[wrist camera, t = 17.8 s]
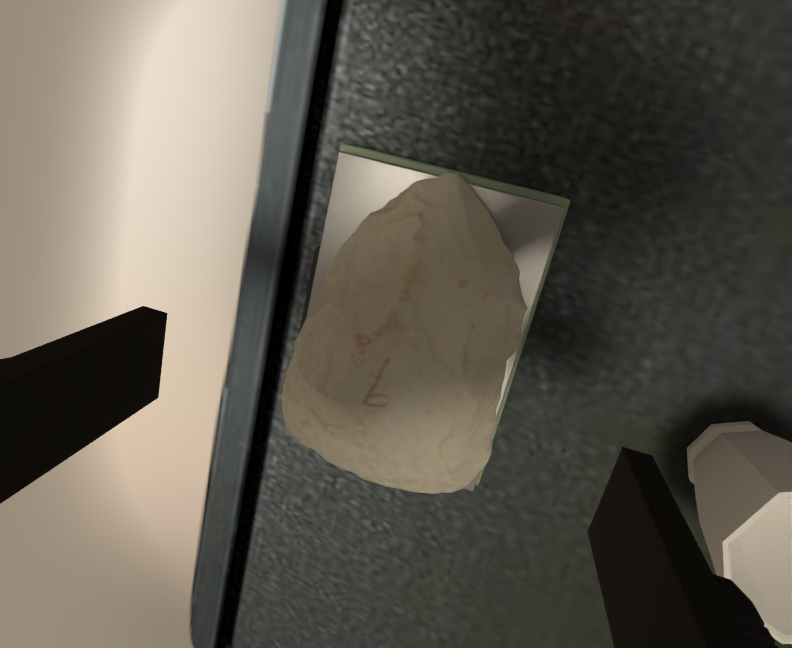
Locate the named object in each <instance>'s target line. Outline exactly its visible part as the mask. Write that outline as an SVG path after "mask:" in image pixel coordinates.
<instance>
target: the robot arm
mask: <svg viewBox="0 0 792 648" xmlns="http://www.w3.org/2000/svg"><path fill="white" fill-rule="evenodd" d="M166 320H167V313H165V312H161V311H158V310H155V309H151V308H148V307H145V306H142V307H139V308H137V309H134V310H132V311H129V312H127V313H124V314H121V315H119V316H116V317H114V318H112V319H109V320H106V321H104V322H101V323H98V324H96V325H93V326H91V327H88V328H85V329H83V330H80V331H78V332H75V333H73V334H70V335H68V336H65V337H62V338H60V339H57V340H55V341H52V342H50V343H47V344H44V345H42V346H39V347H37V348H34V349H32V350H29V351H26V352H24V353H21V354H19V355H16V356H14V357H10V358H4V359H0V503H2V502H3V501H5V500H6V499H8V498H9V497H11V496H12V495H14V494H15V493H17V492H18V491H20V490H21V489H23V488H24V487H26V486H27V485H29V484H30V483H32V482H33V481H35V480H36V479H38V478H39V477H41V476H42V475H44V474H45V473H47V472H48V471H50V470H51V469H53V468H54V467H55V466H57V465H59V464H60V463H61V462H63V461H64V460H66V459H67V458H69V457H70V456H72V455H73V454H75V453H76V452H78V451H79V450H81V449H82V448H84V447H85V446H87V445H88V444H90V443H91V442H93V441H94V440H96V439H97V438H99V437H100V436H102V435H103V434H105V433H106V432H108V431H109V430H111V429H112V428H114V427H115V426H117V425H118V424H119V423H121V422H122V421H124V420H126V419H127V418H129V417H130V416H132V415H133V414H135V413H136V412H137V411H139V410H140V409H142V408H143V407H145V406H146V405H148V404H149V403H151V402H152V401H154V400H155V399H157V398H158V395H159V386H160V376H161V367H162V357H163V347H164V339H165V330H166ZM588 535H589V539H590V544H591V548H592V552H593V557H594V561H595V565H596V570H597V574H598V578H599V583H600V587H601V591H602V596H603V600H604V604H605V609H606V613H607V617H608V622H609V626H610V630H611V635H612V639H613V643H614V648H778V646H776V645H774V643H775V641H774V639H773V637H772V636H771V634H770V632H769V630H768V629H767V628H766V627H764V624H765V623H764V622H763V620H762V618H761V616H760V615H759V613H758V611H757V609H756V608H755V606H754V604H753V602H752V601H751V600H750V599H749V598H748V597H747V596H746V595H745V594H744V593H743V592H742V591H741V589H740V588H739V587H738V586H737V585H736V584H735V583H734V582H733V581H732V580H730V579H727V578H724V577H721V576H717V575H714V574H713V573H712V572H711V570H710V568H709V566H708V564H707V562H706V560H705V558H704V556H703V554H702V552H701V550H700V548H699V546H698V544H697V542H696V540H695V538H694V536H693V535H692V533H691V531H690V529H689V527H688V525H687V523H686V521H685V519H684V517H683V515H682V513H681V511H680V509H679V507H678V505H677V503H676V501H675V500H674V498H673V496H672V494H671V492H670V490H669V488H668V486H667V484H666V482H665V480H664V478H663V476H662V474H661V472H660V470H659V468H658V466H657V464H656V463H655V461H654V459H653V457H652V455H648V454H645V453H641V452H638V451H635V450H631V449H628V448H624V447H622V450H621V452H620V455H619V457H618V459H617V462H616V464H615V467H614V469H613V472H612V474H611V476H610V479H609V481H608V484H607V486H606V489H605V491H604V493H603V496H602V498H601V501H600V503H599V506H598V508H597V510H596V513H595V515H594V518H593V520H592V523H591V525H590V528H589V530H588Z"/></svg>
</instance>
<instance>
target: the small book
mask: <svg viewBox="0 0 792 648" xmlns="http://www.w3.org/2000/svg"><path fill="white" fill-rule="evenodd" d="M444 173H455V174H456V173H458V175H459V176H460V177H461V178H462V179H463V180H464V182H465V183H466V184H467V185H468V186H469V187H470V188H471V189H472V190H473V191H474V192H475V194H476V196H477V197H478V199H479V200H480V201H481V202H482V204H483V205H484V206H485V207H486V208H487V209H488V211H489V212H490V217H491V218H492V219H493V220H494V222H495V223H496V225H497V228H498V230H499V231H500V234H501V237H502V241H503V243H504V244H505V245H506V247H507V248H508V249H509V251H510V252H511V254H512V256H513V258H514V261H515V263H516V264H517V265H518V267H519V271H520V277H519V283H520V287H521V292H522V295H523V299H524V302H525V304H526V306H527V312H526V314H525V316H524V320H523V323H522V325H521V337H520V341H519V344H518V347H517V348H516V349H515V352H514V354H513V355H512V356H511V357H510V358H509V359H507V362H506V365H507V366H506V370H505V378H504V381H503V383H502V390H501V400H500V401H499V403H498V406H497V408H496V426H495V429H494V431H493V434H492V436H491V442H493V439H494V436H495V433H496V430H497V427H498V423H499V420H500V417H501V414H502V411H503V408H504V405H505V402H506V399H507V396H508V393H509V389H510V386H511V383H512V380H513V377H514V374H515V371H516V368H517V365H518V362H519V359H520V356H521V352H522V349H523V346H524V343H525V340H526V337H527V334H528V331H529V328H530V325H531V322H532V318H533V315H534V312H535V309H536V306H537V303H538V300H539V297H540V294H541V291H542V288H543V285H544V281H545V278H546V275H547V272H548V269H549V266H550V263H551V260H552V257H553V254H554V251H555V248H556V244H557V241H558V238H559V235H560V232H561V229H562V226H563V223H564V220H565V217H566V214H567V210H568V207H569V204H570V200H569V199H567V198H564V197H561V196H557V195H553V194H549V193H545V192H541V191H537V190H533V189H529V188H525V187H521V186H517V185H513V184H509V183H505V182H501V181H497V180H493V179H489V178H485V177H481V176H477V175H473V174H469V173H465V172H461V171H456V170H452V169H448V168H444V167H440V166H436V165H432V164H428V163H424V162H420V161H416V160H412V159H408V158H404V157H400V156H396V155H392V154H388V153H384V152H380V151H376V150H372V149H368V148H364V147H360V146H355V145H349V144H343V143H341V145H340V150H339V152H338V157H337V162H336V167H335V173H334V178H333V183H332V188H331V193H330V198H329V204H328V209H327V214H326V219H325V224H324V229H323V235H322V240H321V245H320V246H318V247H316V249H315V254H314V259H313V264H312V269H311V275H310V280H309V285H308V290H307V296H306V301H305V306H304V311H303V317H302V322H301V327H300V331H301V329H302V327H303V324H304V321H305V320H306V319H307V317H308V316H309V314H310V313H311V312H312V309H313V307H314V304H315V302H316V299H317V297H318V295H319V293H320V291H321V289H322V287H323V282H324V279H325V277H326V274H327V272H328V269H329V266H330V265H331V263H332V262H333V259H334V258H335V256H336V254H337V252H338V251H339V250H340V248H341V247H342V245H343V244H344V243H345V241H346V240H348V239H349V238H350V237H351V235H352V234H353V233H354V232H356V230H357V229H358V227H359V225H360V223H361V222H362V221H363V220H364V219H365V218H366V217H367V216H368V215H369V214H370V213H371V212H375V211H377V210H380V209H381V208H383V207H384V206H385V205H386V204H387V203H388V202H389V201H390V200H391V199H393V198H396V197H397V196H398V195H399V194H400V192H403V191H404V190H405V189H407V188H408V187H409V186H410V185H411V184H413V183H414V182H416V181H420V180H424V179H432V178H437V177H439V176H441V175H442V174H444ZM284 434H285V435H288V436H291V437H294V438H296V437H295V436H294V435H293V434H292V433H291V432H290V430H289V428H288V425H287V423H286V426H285V431H284ZM484 467H485V466H484ZM484 467H483V468H482V469H481V470H480V471H479V473H478V474H477V475H476V476H475V477H474V478H473V479H472V481H471V482H470V483H469V484H468V485H467V486H465V487H464V488H462V489H466V490H469V491H472V492H473V491H474V488H475V485H478V484H479V482H480V479H481V476H482V473H483V470H484Z"/></svg>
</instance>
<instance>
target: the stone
mask: <svg viewBox="0 0 792 648" xmlns="http://www.w3.org/2000/svg"><path fill="white" fill-rule="evenodd" d="M519 277H520V271H519V267H518V265H517V264H516V263H515V261H514V258H513V256H512V254H511V252H510V251H509V249H508V248H507V247H506V245H505V244H504V243H503V241H502V237H501V234H500V231H499V230H498V228H497V225H496V223H495V222H494V220H493V219H492V218H491V217H490V212H489V211H488V209H487V208H486V207H485V206H484V205H483V204H482V202H481V201H480V200H479V199H478V197H477V196H476V194H475V192H474V191H473V190H472V189H471V188H470V187H469V186H468V185H467V184H466V183H465V182H464V180H463V179H462V178H461V177H460V176H459V175H458V173H456V174H455V173H444V174H442V175H441V176H439V177H437V178H432V179H424V180H420V181H416V182H414V183H413V184H411V185H410V186H409V187H408V188H407V189H405V190H404V191H403V192H400V194H399V195H398V196H397V197H396V198H393V199H391V200H390V201H389V202H388V203H387V204H386V205H385V206H384V207H383V208H381V209H380V210H377V211H375V212H371V213H370V214H369V215H368V216H367V217H366V218H365V219H364V220H363V221H362V222H361V223H360V225H359V227H358V229H357V230H356V232H354V233H353V234H352V235H351V237H350V238H349V239H348V240H346V241H345V243H344V244H343V245H342V247H341V248H340V250H339V251H338V252H337V254H336V256H335V258H334V259H333V262H332V263H331V265H330V266H329V269H328V272H327V274H326V277H325V279H324V282H323V287H322V289H321V291H320V293H319V295H318V297H317V299H316V302H315V304H314V307H313V309H312V312H311V313H310V314H309V316H308V317H307V319H306V320H305V321H304V324H303V327H302V329H301V331H300V333H299V335H298V337H297V339H296V340H295V343H294V347H295V352H293V357H292V359H291V362H290V364H289V368H288V370H287V373H286V378H285V382H284V387H283V391H282V407H283V415H284V419H285V422H286V423H287V425H288V428H289V430H290V432H291V433H292V434H293V435H294V436H295V437H296V438H297V439H298V440H299V441H300V442H301V443H302V444H303V445H304V446H306V447H309V448H312V449H314V450H315V451H317V452H318V453H319V454H320V455H321V456H322V457H323V458H324V459H325V460H327V461H328V462H330V463H332V464H334V465H336V466H337V467H339V468H341V469H343V470H348V471H351V472H354V473H355V474H356V475H358V476H359V477H360V478H362V479H365V480H368V481H372V482H375V483H378V484H381V485H383V486H387V487H394V488H400V489H403V490H407V491H411V492H421V493H431V494H437V493H440V492H445V493H451V492H455V491H458V490H460V489H462V488H464V487H465V486H467V485H468V484H469V483H470V482H471V481H472V479H473V478H474V477H475V476H476V475H477V474H478V473H479V471H480V470H481V469H482V468H483V467H484V466H485V465H486V463H487V462H488V460H489V458H490V456H491V451H492V442H491V436H492V434H493V431H494V429H495V426H496V408H497V406H498V403H499V401H500V400H501V390H502V383H503V381H504V378H505V370H506V366H507V365H506V362H507V359H509V358H510V357H511V356H512V355H513V354H514V352H515V349H516V348H517V347H518V344H519V341H520V337H521V325H522V323H523V320H524V316H525V314H526V312H527V306H526V304H525V302H524V299H523V295H522V292H521V287H520V283H519Z"/></svg>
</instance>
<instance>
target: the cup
mask: <svg viewBox="0 0 792 648" xmlns="http://www.w3.org/2000/svg"><path fill="white" fill-rule="evenodd" d="M687 462H688V478H689V480H690V481H691V482H692V483H693V484H694V487H695V496H696V503H697V510H698V516H699V522H700V525H701V528H702V531H703V534H704V537H705V540H706V543H707V546H708V549H709V552H710V555H711V559H712V562H713V565H714V569H715V572H716V575H717V576H721V577H724V578H727V579H730V580H732V581H733V582H734V583H735V584H736V585H737V586H738V587H739V588H740V589H741V591H742V592H743V593H744V594H745V595H746V596H747V597H748V598H749V599H750V600H751V601H752V602H753V604H754V606H755V608H756V609H757V611H758V613H759V615H760V616H761V618H762V620H763V622H764V623H765V624H764V627H766V628H767V629H768V630H769V632H770V634H771V636H772V637H773V638H775V639H776V640H777V641H779V642H780V643H782V644H792V443H791V442H789V441H787V440H785V439H782V438H780V437H777V436H775V435H772V434H770V433H767V432H765V431H762V430H761V429H759V428H758V427H757V426H755V425H754V424H753V423H751V422H750V421H742V422H731V423H719V424H711V425H710V426H709V427H708V428H707V429H706V430H705V431H704V432H703V433H702V434H701V435H700V436H699V437H698V438H697V439H696V440H694V441H693V442H692V443H691V444H690V445H689V446H688V447H687Z"/></svg>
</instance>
